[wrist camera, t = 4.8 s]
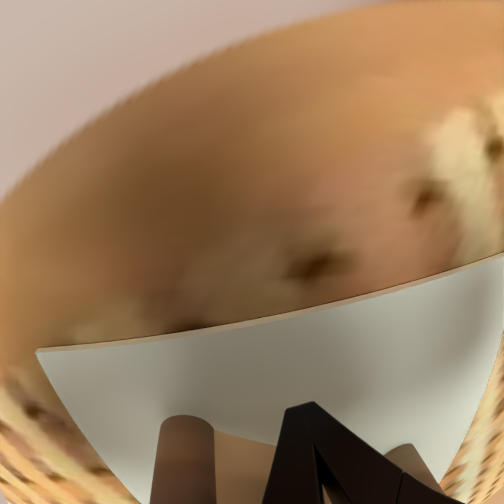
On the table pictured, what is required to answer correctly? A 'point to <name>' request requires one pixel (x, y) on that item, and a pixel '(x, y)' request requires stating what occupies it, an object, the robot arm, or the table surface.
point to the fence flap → (208, 465)
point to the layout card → (298, 373)
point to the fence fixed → (413, 464)
